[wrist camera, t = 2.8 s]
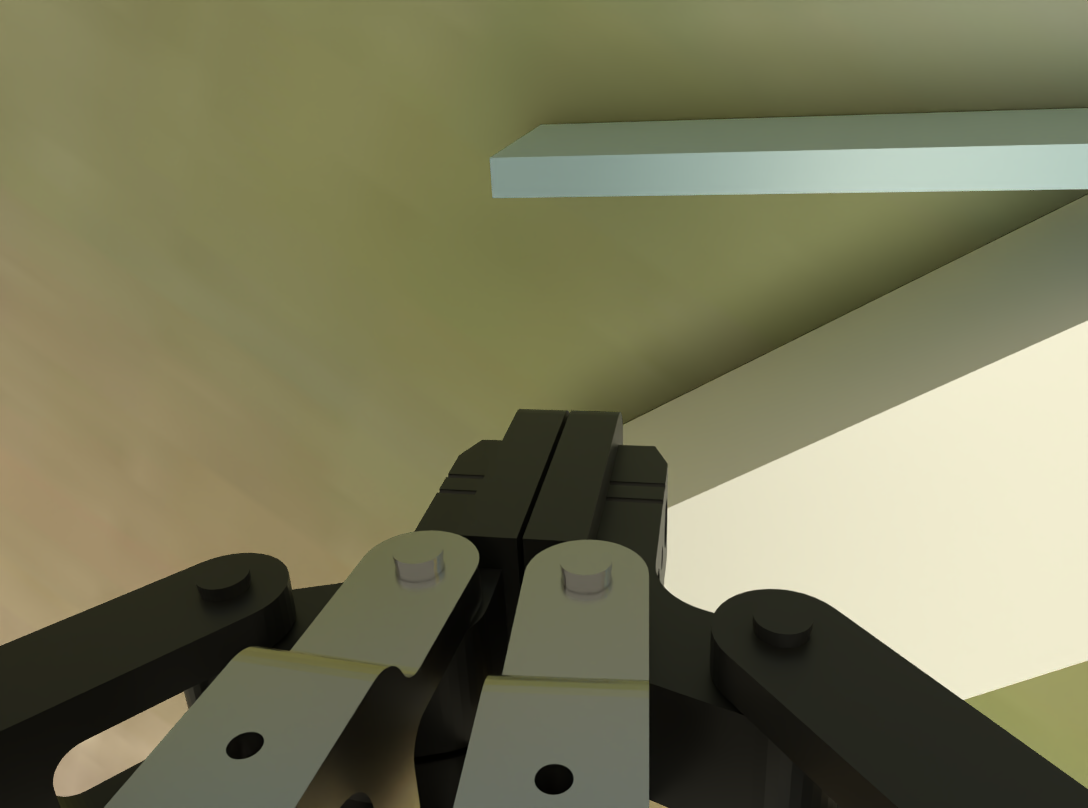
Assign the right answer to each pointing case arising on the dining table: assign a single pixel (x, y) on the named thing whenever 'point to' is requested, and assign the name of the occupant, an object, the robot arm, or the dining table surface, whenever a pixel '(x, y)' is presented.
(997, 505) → the camera housing
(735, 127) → the door
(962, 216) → the dining table surface
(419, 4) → the dining table surface
